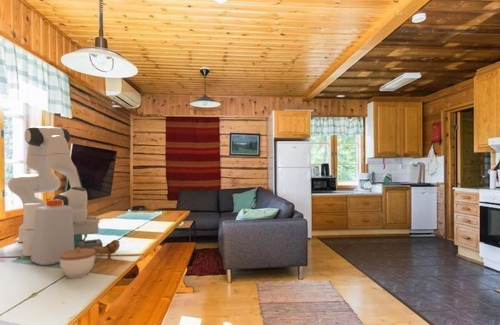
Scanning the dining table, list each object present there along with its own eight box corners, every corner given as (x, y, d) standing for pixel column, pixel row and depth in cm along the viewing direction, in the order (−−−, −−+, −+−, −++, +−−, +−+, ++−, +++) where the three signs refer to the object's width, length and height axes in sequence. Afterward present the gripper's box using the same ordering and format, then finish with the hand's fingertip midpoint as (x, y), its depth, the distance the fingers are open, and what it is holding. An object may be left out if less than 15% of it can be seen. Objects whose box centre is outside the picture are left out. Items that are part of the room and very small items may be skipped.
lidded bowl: (87, 267, 131) (87, 242, 131) (100, 274, 123) (100, 247, 123) (54, 275, 121) (54, 248, 122) (66, 283, 113) (66, 253, 114)
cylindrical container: (31, 256, 148) (31, 204, 148) (18, 255, 149) (19, 204, 150) (43, 252, 155) (44, 203, 155) (32, 251, 156) (32, 202, 157)
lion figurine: (118, 256, 148) (119, 238, 148) (119, 259, 143) (120, 240, 143) (84, 261, 141) (84, 241, 141) (84, 264, 136) (84, 244, 136)
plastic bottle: (78, 259, 144) (79, 199, 144) (42, 267, 131) (43, 202, 132) (63, 253, 152) (64, 198, 153) (27, 261, 140) (29, 200, 140)
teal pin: (72, 248, 163) (73, 233, 163) (81, 247, 165) (81, 232, 165) (73, 249, 159) (73, 234, 160) (81, 248, 162) (82, 233, 162)
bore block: (78, 251, 157) (78, 241, 157) (99, 248, 163) (99, 239, 163) (79, 255, 149) (80, 245, 149) (102, 252, 154) (102, 242, 155)
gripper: (98, 215, 171) (98, 239, 171) (55, 218, 160) (55, 244, 159) (100, 216, 166) (99, 242, 165) (55, 220, 154) (55, 247, 154)
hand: (77, 243), depth 162 cm, fingers closed on teal pin, 4 cm apart
